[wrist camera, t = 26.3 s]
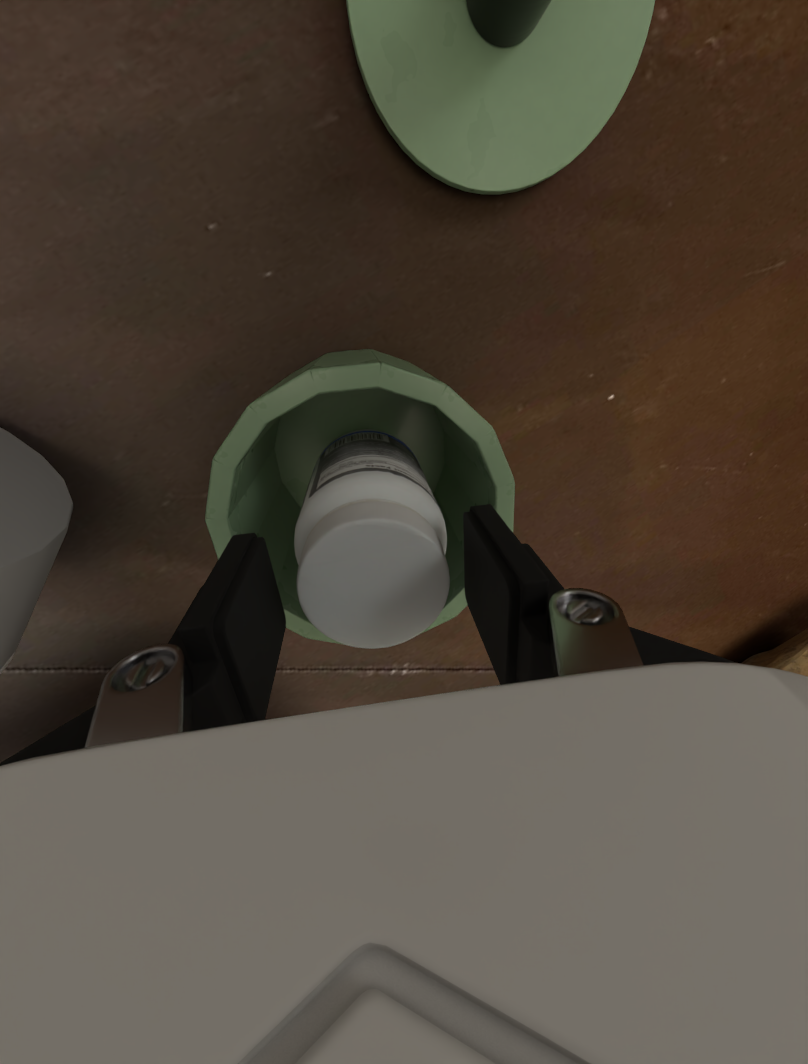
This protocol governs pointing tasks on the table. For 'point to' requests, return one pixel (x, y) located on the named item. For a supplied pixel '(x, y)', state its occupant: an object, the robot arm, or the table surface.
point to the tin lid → (496, 81)
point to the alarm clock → (26, 534)
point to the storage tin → (329, 412)
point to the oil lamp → (785, 656)
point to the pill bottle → (370, 543)
